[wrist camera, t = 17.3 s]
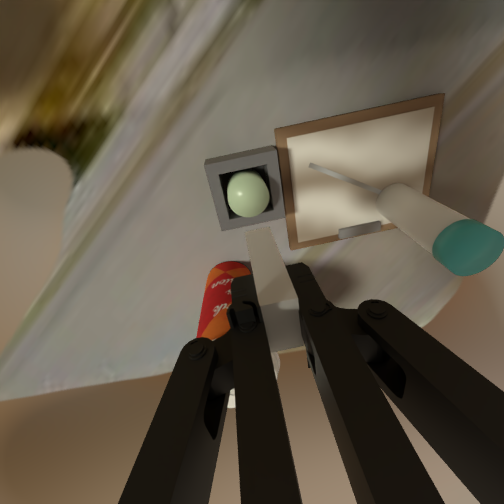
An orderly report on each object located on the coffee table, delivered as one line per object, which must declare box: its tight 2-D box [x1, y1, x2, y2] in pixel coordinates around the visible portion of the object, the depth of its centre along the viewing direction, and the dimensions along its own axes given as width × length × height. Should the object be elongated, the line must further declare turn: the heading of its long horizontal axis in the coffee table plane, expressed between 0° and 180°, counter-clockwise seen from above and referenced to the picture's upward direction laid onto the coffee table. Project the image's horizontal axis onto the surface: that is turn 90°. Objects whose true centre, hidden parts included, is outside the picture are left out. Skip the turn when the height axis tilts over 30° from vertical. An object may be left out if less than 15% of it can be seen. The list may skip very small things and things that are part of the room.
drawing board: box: [274, 93, 445, 250], centre depth 30 cm, size 14×17×2 cm
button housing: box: [204, 145, 286, 231], centre depth 28 cm, size 7×7×3 cm
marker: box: [376, 183, 504, 276], centre depth 26 cm, size 4×4×12 cm
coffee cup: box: [196, 261, 280, 408], centre depth 29 cm, size 8×8×15 cm
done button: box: [227, 168, 269, 217], centre depth 27 cm, size 4×4×4 cm
